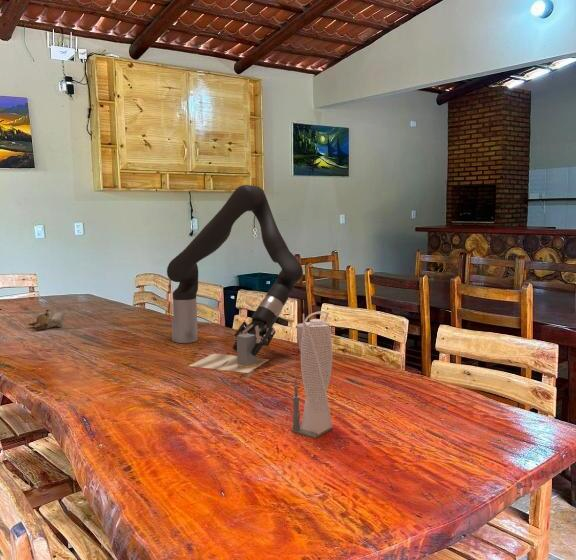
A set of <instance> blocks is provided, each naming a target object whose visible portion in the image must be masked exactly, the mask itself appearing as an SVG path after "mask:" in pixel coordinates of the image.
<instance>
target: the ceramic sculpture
mask: <svg viewBox="0 0 576 560" xmlns="http://www.w3.org/2000/svg"><path fill="white" fill-rule="evenodd" d="M64 321H65V310H61V311H59V312H54V311H52V310H49V309H46V310H45V312H42V313H39V314H38V315H37V317H36V321H35V322H32V323H31V322H30V323H29V322H28V326H31V327H30V328H31V329H34V330H46V329H50V328H53V327H57V328H61V327H62V326H63V322H64Z"/></svg>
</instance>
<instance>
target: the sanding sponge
mask: <svg viewBox="0 0 576 560" xmlns="http://www.w3.org/2000/svg"><path fill="white" fill-rule="evenodd" d="M240 334H241V333H240ZM240 334H239V335H237V338H236V340H237V352H236V356H237V366H241V367H244V368H249V367H252V366H256V365H257V358H258V357H257V356H258V354H257V355H256V356H253V355H252V354H251V353H250V352H251V350H252V349H253V347H254V345H255V344H256V343H257V339H256V335H253V334H249V333H248V332H247V333H245V334H241V335H240Z"/></svg>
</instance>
